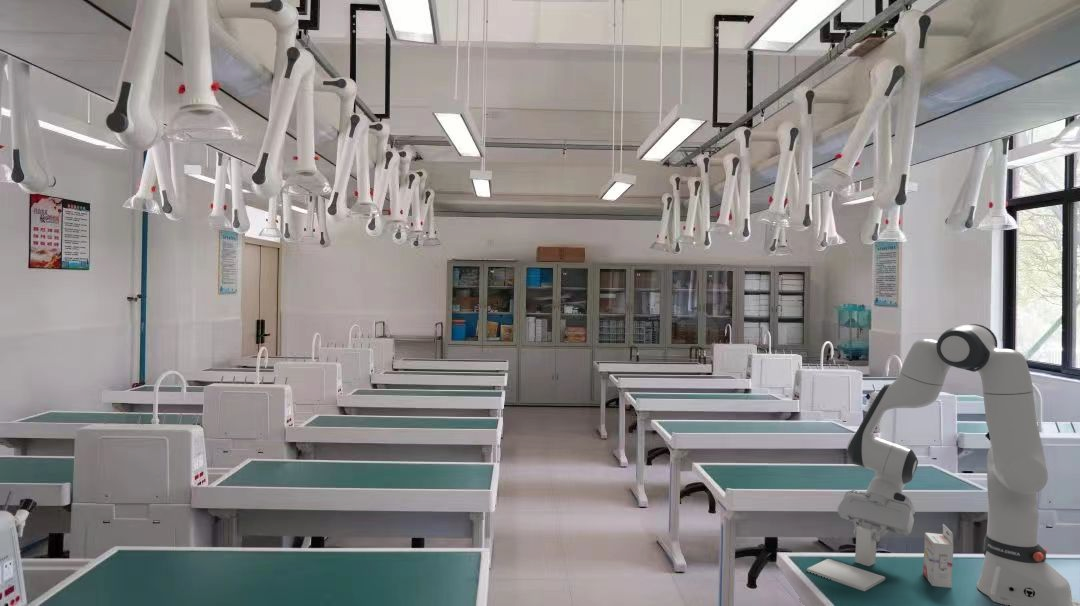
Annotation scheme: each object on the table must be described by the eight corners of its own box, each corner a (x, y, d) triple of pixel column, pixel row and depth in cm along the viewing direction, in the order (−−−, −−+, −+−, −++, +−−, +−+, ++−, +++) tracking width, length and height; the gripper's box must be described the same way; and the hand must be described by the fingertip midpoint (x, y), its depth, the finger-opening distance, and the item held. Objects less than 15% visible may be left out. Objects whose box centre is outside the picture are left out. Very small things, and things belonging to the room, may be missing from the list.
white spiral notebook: (884, 579, 196) (885, 576, 196) (864, 591, 188) (864, 588, 188) (828, 561, 208) (828, 558, 208) (806, 571, 200) (806, 568, 200)
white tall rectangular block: (875, 563, 208) (877, 523, 208) (869, 566, 205) (871, 526, 205) (861, 558, 211) (863, 519, 211) (855, 561, 208) (857, 522, 208)
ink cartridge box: (921, 573, 201) (924, 521, 201) (941, 575, 200) (944, 522, 200) (931, 586, 193) (934, 531, 192) (952, 588, 192) (955, 533, 191)
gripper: (844, 482, 220) (827, 521, 214) (915, 499, 204) (898, 541, 198) (850, 494, 223) (833, 533, 217) (921, 512, 208) (904, 554, 201)
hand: (865, 537), depth 207 cm, fingers closed on white tall rectangular block, 4 cm apart
